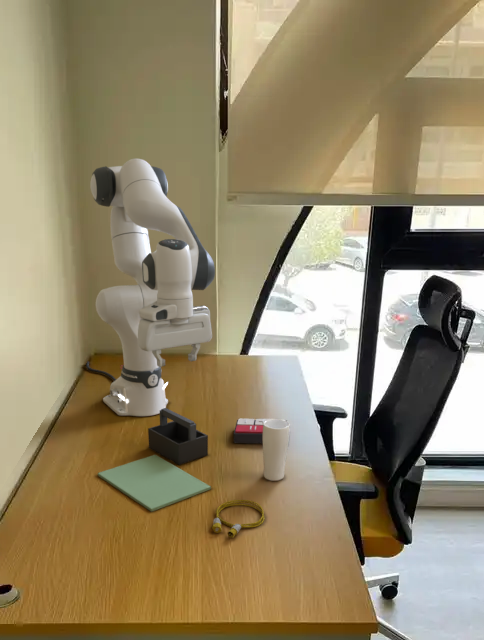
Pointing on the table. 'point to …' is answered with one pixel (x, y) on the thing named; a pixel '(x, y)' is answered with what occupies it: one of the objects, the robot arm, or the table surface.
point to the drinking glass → (275, 448)
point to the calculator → (249, 430)
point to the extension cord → (235, 527)
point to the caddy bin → (177, 438)
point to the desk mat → (154, 482)
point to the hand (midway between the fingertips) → (177, 363)
